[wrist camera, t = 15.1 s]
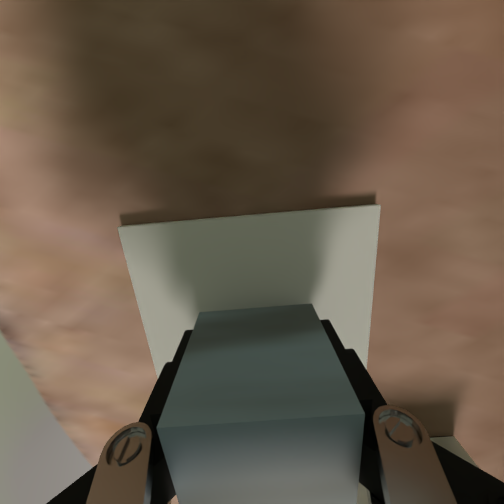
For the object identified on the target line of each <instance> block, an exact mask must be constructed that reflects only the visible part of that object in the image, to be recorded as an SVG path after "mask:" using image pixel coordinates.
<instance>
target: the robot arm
mask: <svg viewBox="0 0 504 504" xmlns="http://www.w3.org/2000/svg"><path fill="white" fill-rule="evenodd" d="M320 321H321V323H322V325H323V328H324V330H325V332H326V334H327V336H328V338H329V340H330V342H331V344H332V346H333V348H334V350H335V352H336V355H337V357H338V359H339V361H340V363H341V365H342V367H343V369H344V371H345V373H346V375H347V377H348V379H349V382H350V384H351V386H352V388H353V390H354V392H355V394H356V396H357V398H358V400H359V402H360V404H361V406H362V408H363V411H364V413H365V420H364V430H363V441H362V452H361V463H360V473H359V483H360V484H362V485H363V486H364V487H365V488H366V491H367V497H368V504H504V483H503V482H502V481H500V480H498V479H496V478H495V477H493V476H491V475H490V474H488V473H486V472H484V471H483V470H481V469H479V468H478V467H476V466H474V465H472V464H471V463H469V462H467V461H465V460H464V459H462V458H460V457H459V456H457V455H455V454H453V453H452V452H450V451H448V450H447V449H445V448H443V447H441V446H440V445H438V444H436V443H435V442H433V441H431V440H430V437H429V435H428V432H427V431H426V429H425V427H424V425H423V424H422V423H421V422H420V421H419V420H418V419H417V417H415V416H414V415H413V414H411V413H410V412H408V411H407V410H405V409H403V408H400V407H397V406H393V405H387V404H386V402H385V400H384V399H383V397H382V395H381V394H380V392H379V390H378V389H377V387H376V385H375V384H374V382H373V380H372V378H371V377H370V375H369V373H368V372H367V370H366V368H365V367H364V365H363V363H362V362H361V360H360V358H359V357H358V355H357V353H356V352H355V350H354V349H352V348H351V349H345V347H344V346H343V344H342V342H341V340H340V338H339V337H338V335H337V333H336V331H335V329H334V327H333V326H332V324H331V322H330V320H329V319H325V320H320ZM192 331H193V330H185V332H184V334H183V336H182V339H181V341H180V344H179V346H178V348H177V351H176V353H175V355H174V358H173V360H172V362H167V363H165V365H164V367H163V369H162V371H161V373H160V375H159V378H158V380H157V382H156V384H155V386H154V389H153V391H152V393H151V395H150V397H149V400H148V402H147V404H146V406H145V408H144V411H143V413H142V415H141V417H140V419H139V422H136V423H131V424H129V425H126V426H124V427H123V428H121V429H120V430H118V431H117V432H116V433H115V434H114V435H113V436H112V437H111V438H110V439H109V440H108V442H107V443H106V444H105V446H104V448H103V450H102V453H101V455H100V458H99V462H98V464H97V465H96V466H94V467H93V468H92V469H91V470H89V471H88V472H87V473H85V474H84V475H83V476H81V477H80V478H79V479H78V480H76V481H75V482H74V483H72V484H71V485H70V486H69V487H67V488H66V489H65V490H63V491H62V492H61V493H59V494H58V495H57V496H56V497H54V498H53V499H52V500H50V501H49V502H48V503H47V504H171V499H172V498H173V497H174V496H175V495H176V492H175V488H174V485H173V482H172V478H171V475H170V472H169V468H168V465H167V462H166V458H165V455H164V452H163V448H162V445H161V442H160V438H159V435H158V432H157V425H158V422H159V420H160V417H161V414H162V412H163V409H164V406H165V404H166V401H167V398H168V395H169V393H170V390H171V387H172V385H173V382H174V379H175V377H176V374H177V371H178V369H179V366H180V363H181V361H182V358H183V355H184V352H185V350H186V347H187V344H188V342H189V339H190V336H191V334H192Z"/></svg>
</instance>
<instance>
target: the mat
mask: <svg viewBox="0 0 504 504" xmlns="http://www.w3.org/2000/svg"><path fill="white" fill-rule="evenodd" d="M380 207H381V205H378V204H370V205H359V206H347V207H335V208H323V209H312V210H300V211H288V212H276V213H265V214H253V215H241V216H229V217H217V218H206V219H194V220H182V221H170V222H159V223H147V224H135V225H123V226H120V227H117V228H118V232H119V236H120V240H121V243H122V247H123V251H124V254H125V258H126V262H127V266H128V269H129V273H130V277H131V281H132V284H133V288H134V292H135V295H136V299H137V303H138V307H139V310H140V314H141V318H142V322H143V325H144V329H145V333H146V337H147V340H148V344H149V348H150V351H151V355H152V359H153V363H154V366H155V370H156V374H157V378H159V375H160V373H161V371H162V369H163V367H164V365H165V363H167V362H172V360H173V358H174V355H175V353H176V351H177V348H178V346H179V344H180V341H181V339H182V336H183V334H184V332H185V330H193V328H194V326H195V323H196V320H197V317H198V315H199V312H208V311H221V310H233V309H246V308H259V307H272V306H285V305H298V304H311V303H312V305H313V307H314V309H315V311H316V313H317V315H318V317H319V319H320V320H325V319H329V320H330V322H331V324H332V326H333V327H334V329H335V331H336V333H337V335H338V337H339V338H340V340H341V342H342V344H343V346H344V347H345V349H351V348H352V349H354V350H355V352H356V353H357V355H358V357H359V358H360V360H361V362H362V363H363V365H364V367H365V368H366V369H367V357H368V346H369V334H370V323H371V311H372V300H373V288H374V277H375V265H376V254H377V242H378V230H379V219H380Z"/></svg>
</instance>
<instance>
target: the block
mask: <svg viewBox="0 0 504 504" xmlns="http://www.w3.org/2000/svg"><path fill="white" fill-rule="evenodd" d="M364 420H365V413H364V411H363V408H362V406H361V404H360V402H359V400H358V398H357V396H356V394H355V392H354V390H353V388H352V386H351V384H350V382H349V379H348V377H347V375H346V373H345V371H344V369H343V367H342V365H341V363H340V361H339V359H338V357H337V355H336V352H335V350H334V348H333V346H332V344H331V342H330V340H329V338H328V336H327V334H326V332H325V330H324V328H323V325H322V323H321V321H320V319H319V317H318V315H317V313H316V311H315V309H314V307H313V305H312V303H311V304H298V305H285V306H272V307H259V308H246V309H233V310H221V311H208V312H199V315H198V317H197V320H196V323H195V326H194V328H193V331H192V334H191V336H190V339H189V342H188V344H187V347H186V350H185V352H184V355H183V358H182V361H181V363H180V366H179V369H178V371H177V374H176V377H175V379H174V382H173V385H172V387H171V390H170V393H169V395H168V398H167V401H166V404H165V406H164V409H163V412H162V414H161V417H160V420H159V422H158V425H157V432H158V435H159V438H160V442H161V445H162V448H163V452H164V455H165V458H166V462H167V465H168V468H169V472H170V475H171V478H172V482H173V485H174V488H175V492H176V495H177V498H178V502H179V504H357V495H358V484H359V473H360V463H361V452H362V441H363V430H364Z"/></svg>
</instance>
